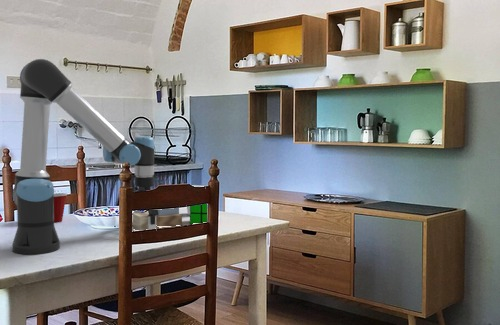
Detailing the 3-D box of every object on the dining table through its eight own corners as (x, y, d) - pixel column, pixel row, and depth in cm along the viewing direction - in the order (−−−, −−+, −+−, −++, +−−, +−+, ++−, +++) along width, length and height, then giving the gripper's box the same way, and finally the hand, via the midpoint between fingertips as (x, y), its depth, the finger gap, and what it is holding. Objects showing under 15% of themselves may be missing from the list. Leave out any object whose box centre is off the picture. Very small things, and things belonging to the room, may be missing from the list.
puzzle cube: (216, 220, 245) (217, 198, 244) (213, 225, 235) (213, 202, 234) (194, 220, 246) (194, 197, 245) (189, 224, 236) (189, 201, 235)
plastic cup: (57, 218, 245) (57, 191, 244) (73, 221, 238) (72, 193, 237) (35, 221, 236) (35, 193, 235) (51, 225, 230) (50, 196, 228)
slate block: (159, 215, 229) (159, 206, 229) (154, 214, 233) (154, 204, 233) (179, 213, 234) (179, 204, 234) (173, 212, 238) (173, 202, 238)
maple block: (139, 234, 216) (139, 216, 215) (132, 230, 222) (132, 213, 221) (156, 232, 220) (156, 214, 219) (149, 229, 226) (149, 212, 225)
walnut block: (159, 229, 227) (160, 217, 226) (149, 224, 235) (149, 213, 235) (181, 226, 232) (182, 215, 232) (171, 222, 241) (171, 211, 240)
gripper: (167, 179, 211) (167, 234, 212) (140, 172, 231) (140, 222, 233) (148, 180, 206) (148, 236, 208) (123, 173, 227) (123, 224, 229)
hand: (144, 229), depth 221 cm, fingers open, 13 cm apart
